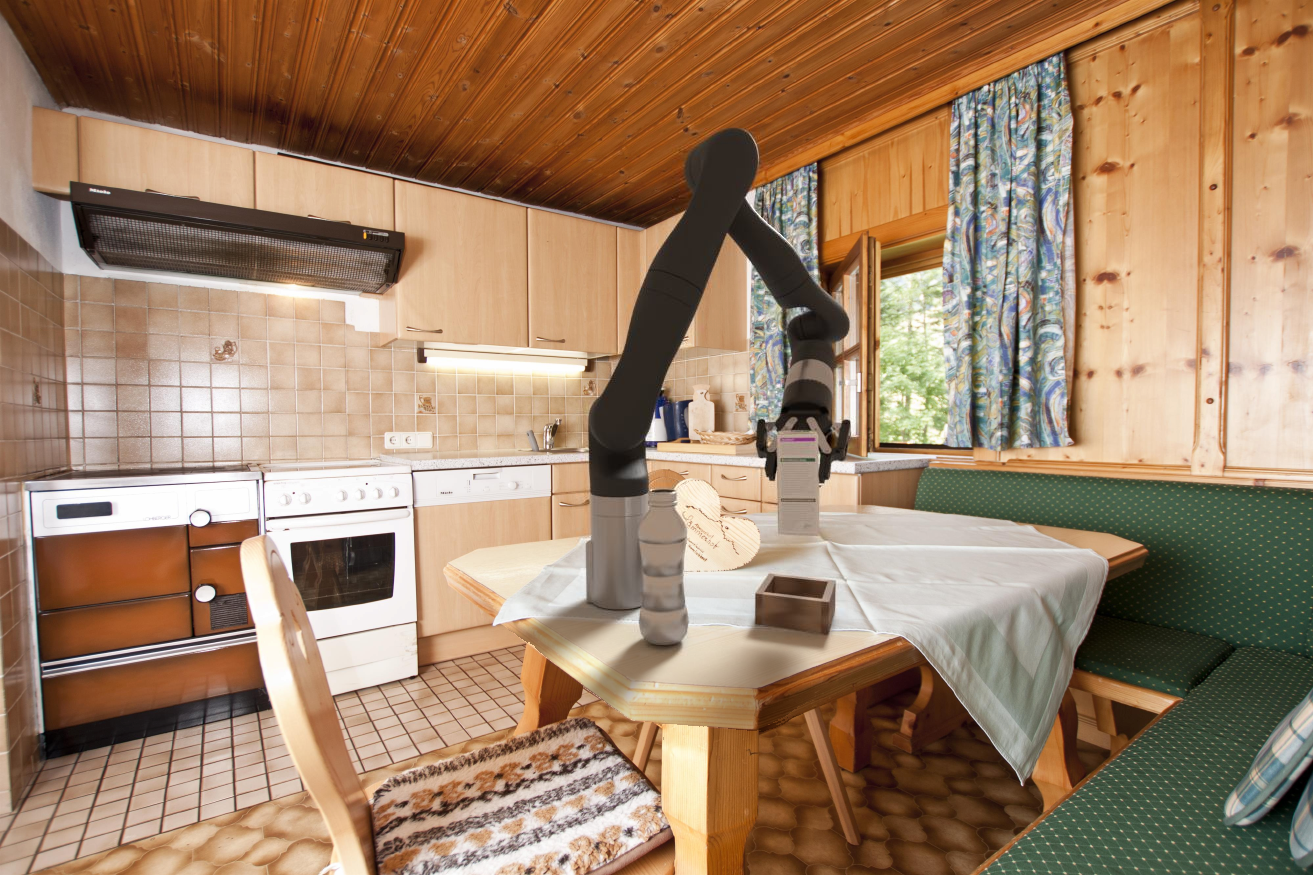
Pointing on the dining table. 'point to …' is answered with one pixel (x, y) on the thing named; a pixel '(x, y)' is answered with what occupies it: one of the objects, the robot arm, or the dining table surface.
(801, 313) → the robot arm
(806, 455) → the syrup box
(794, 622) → the walnut sleeve
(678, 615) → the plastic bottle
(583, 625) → the dining table surface
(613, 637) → the dining table surface
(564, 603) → the dining table surface
